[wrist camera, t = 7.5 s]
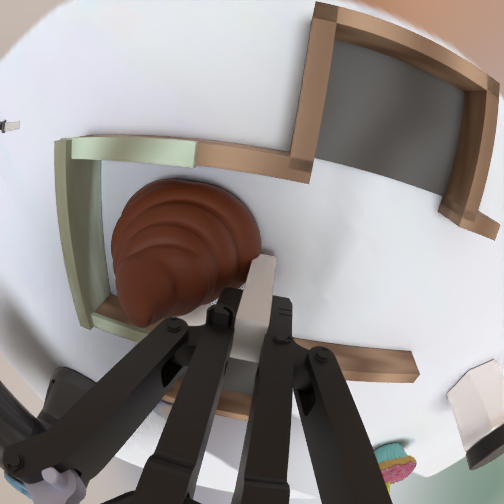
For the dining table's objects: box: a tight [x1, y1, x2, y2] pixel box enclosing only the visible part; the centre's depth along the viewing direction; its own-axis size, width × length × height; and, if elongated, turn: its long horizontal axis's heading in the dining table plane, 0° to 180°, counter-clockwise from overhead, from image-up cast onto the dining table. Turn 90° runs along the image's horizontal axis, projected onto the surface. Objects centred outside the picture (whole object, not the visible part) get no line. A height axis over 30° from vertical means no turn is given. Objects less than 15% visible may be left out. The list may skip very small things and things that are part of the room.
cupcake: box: [374, 443, 416, 492], centre depth 26 cm, size 9×8×12 cm
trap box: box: [54, 2, 500, 421], centre depth 17 cm, size 30×34×4 cm
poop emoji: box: [111, 179, 261, 328], centre depth 15 cm, size 10×8×9 cm
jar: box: [447, 360, 504, 470], centre depth 18 cm, size 9×8×12 cm
